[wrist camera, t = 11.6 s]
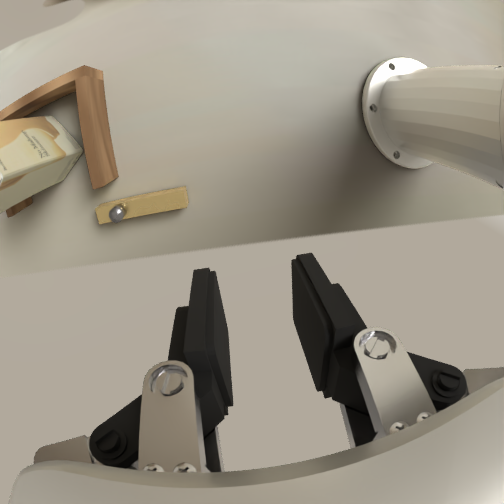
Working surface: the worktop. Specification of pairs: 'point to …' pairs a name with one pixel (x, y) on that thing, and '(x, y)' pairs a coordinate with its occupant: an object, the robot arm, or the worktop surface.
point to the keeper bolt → (142, 205)
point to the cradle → (90, 116)
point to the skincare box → (33, 157)
